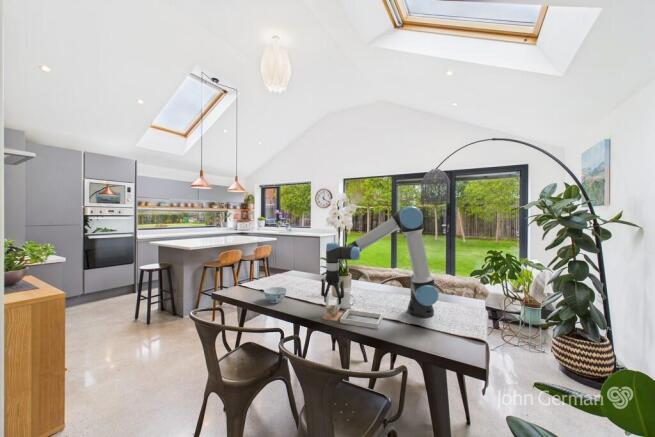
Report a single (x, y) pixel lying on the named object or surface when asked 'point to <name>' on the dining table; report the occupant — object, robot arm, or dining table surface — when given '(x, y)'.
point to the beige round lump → (332, 311)
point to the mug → (347, 298)
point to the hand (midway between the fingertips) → (332, 308)
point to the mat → (332, 317)
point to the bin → (361, 323)
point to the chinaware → (275, 294)
